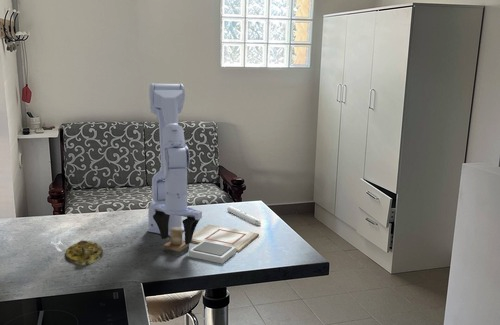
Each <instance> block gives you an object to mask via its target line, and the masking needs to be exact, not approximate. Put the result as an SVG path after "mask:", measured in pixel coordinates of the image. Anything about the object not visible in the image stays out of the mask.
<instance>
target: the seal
mask: <svg viewBox="0 0 500 325" xmlns="http://www.w3.org/2000/svg"><path fill="white" fill-rule="evenodd" d="M103 251H104V249H103V247H102V246H101V245H99V244H98V242H93V241H89V240H79V241H78V242H77V243H74V244H72V245H70V246H68V248H66V250H65V258H66V259H67V261H69V262H70V263H72V264H76V265H80V266H89V265H91V264H94V263H96V262H99V261H100V260H101V259H102V258H103V255H104V254H103V253H104V252H103Z"/></svg>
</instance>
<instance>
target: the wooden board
mask: <svg viewBox="0 0 500 325" xmlns="http://www.w3.org/2000/svg"><path fill="white" fill-rule="evenodd" d="M259 236H260V234H259V233H257V232H252V231H247V230H241V229H240V230H239V229H236V228H230V227H226V226H219V225H213V224H207V225H205V226H204V227H202V228H200V229H199V230H197V231H195V232H194V233H193V236H192V241H191V243H193V244H197V245H198V244H199V243H201V242H202V241H207V242H212V243H217V244H222V245H227V246H232V247H236V252H241V251H242V250H243V249H244V248H246V247H247V246H248V245H250V243H252V242H253V241H254V240H256V239H257V237H259Z"/></svg>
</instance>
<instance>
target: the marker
mask: <svg viewBox="0 0 500 325" xmlns="http://www.w3.org/2000/svg"><path fill="white" fill-rule="evenodd" d="M226 210H227V212H228V211H229V213H230V212H231V214H232V213H233V215H234V214H235V216H236V215H237V217H238V216H239V218H240V217H241V219H242V218H243V219H242V220H244V219H245V220H244V221H246V220H247V221H246V222H249V223H251V224H252V225H256V226H261V224H262V222H261V221H260V219H259V218H256V217H255V216H253V215H251V214H248V213H247V212H245V211H243V210H240V209H238V208H235V207H234V206H231V205H229V206H227V208H226Z"/></svg>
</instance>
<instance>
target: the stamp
mask: <svg viewBox="0 0 500 325" xmlns="http://www.w3.org/2000/svg"><path fill="white" fill-rule="evenodd" d="M169 238H170V240H169V241H167V242H165V243H163V253H167V254H171V255H176V256H181V255H182V254H184V253H185V252H188V251H189V250H190V243H189V244H185V240H183V231H182V228H180V227H173V228H171V229H170V237H169Z"/></svg>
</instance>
